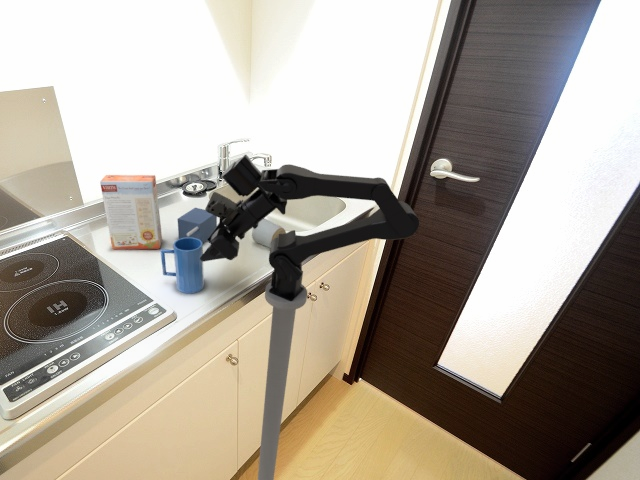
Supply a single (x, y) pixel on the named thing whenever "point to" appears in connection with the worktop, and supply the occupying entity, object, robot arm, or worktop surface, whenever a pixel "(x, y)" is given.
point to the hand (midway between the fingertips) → (205, 250)
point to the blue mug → (186, 264)
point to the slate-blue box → (197, 224)
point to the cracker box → (132, 211)
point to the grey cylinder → (266, 232)
